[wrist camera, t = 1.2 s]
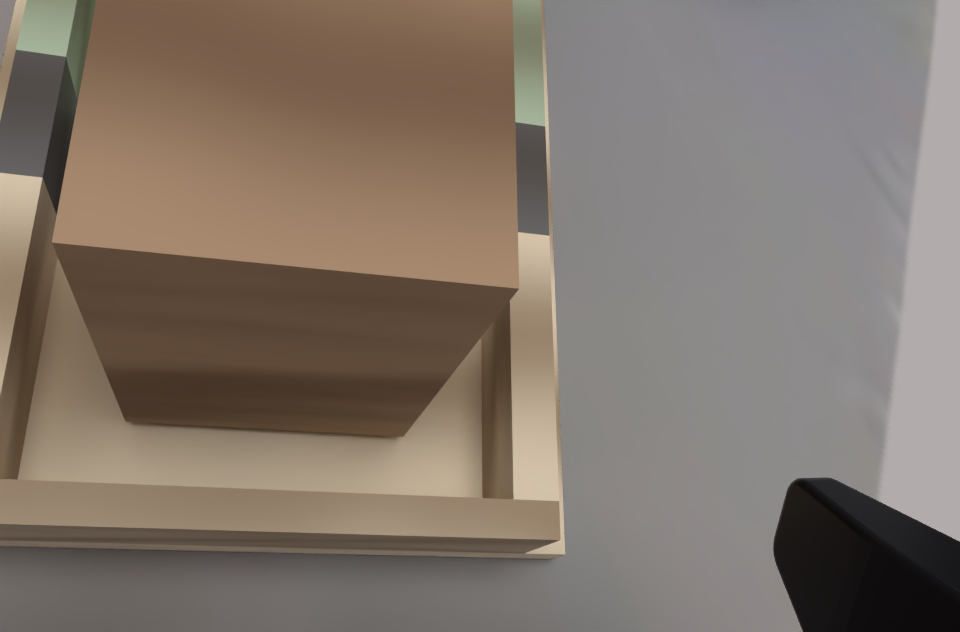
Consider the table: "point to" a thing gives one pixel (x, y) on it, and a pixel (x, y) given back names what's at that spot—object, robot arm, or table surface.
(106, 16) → the walnut block
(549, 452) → the beige flat tray
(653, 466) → the table surface
